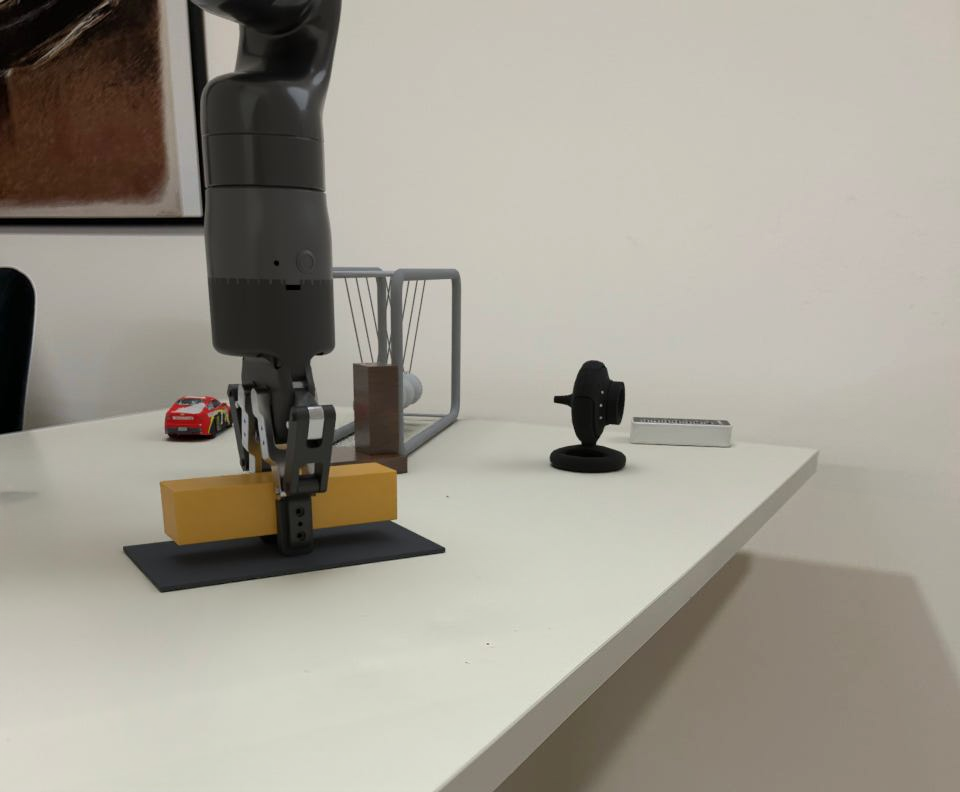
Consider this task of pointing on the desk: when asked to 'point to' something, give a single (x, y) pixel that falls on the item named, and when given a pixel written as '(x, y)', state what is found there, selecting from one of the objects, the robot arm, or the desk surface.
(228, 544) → the mat
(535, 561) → the desk surface
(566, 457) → the webcam
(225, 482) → the bar
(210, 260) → the robot arm
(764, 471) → the desk surface
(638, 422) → the multiport hub
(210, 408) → the race car
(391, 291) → the newton's cradle
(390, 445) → the wooden u-shaped stand
